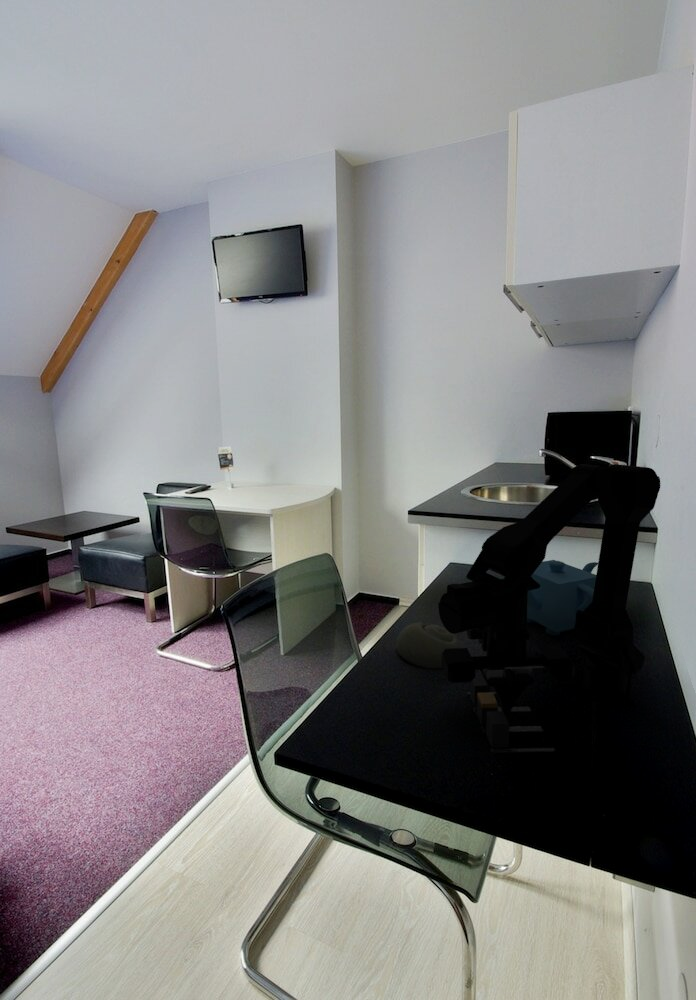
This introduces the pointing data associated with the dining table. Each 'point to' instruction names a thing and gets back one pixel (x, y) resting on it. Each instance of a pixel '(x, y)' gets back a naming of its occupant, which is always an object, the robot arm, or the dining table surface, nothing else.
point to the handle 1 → (478, 688)
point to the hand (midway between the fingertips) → (504, 713)
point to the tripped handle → (485, 706)
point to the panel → (519, 729)
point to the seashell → (425, 644)
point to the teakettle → (560, 595)
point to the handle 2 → (497, 729)
